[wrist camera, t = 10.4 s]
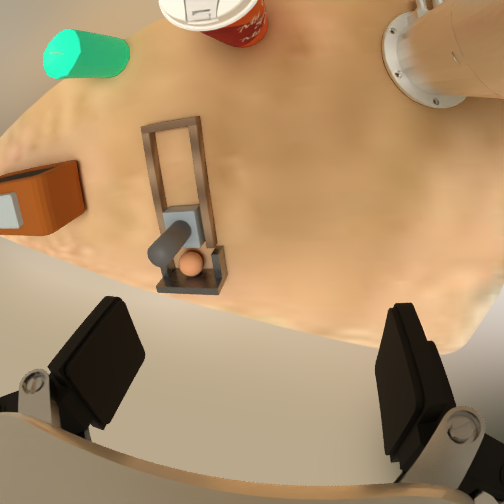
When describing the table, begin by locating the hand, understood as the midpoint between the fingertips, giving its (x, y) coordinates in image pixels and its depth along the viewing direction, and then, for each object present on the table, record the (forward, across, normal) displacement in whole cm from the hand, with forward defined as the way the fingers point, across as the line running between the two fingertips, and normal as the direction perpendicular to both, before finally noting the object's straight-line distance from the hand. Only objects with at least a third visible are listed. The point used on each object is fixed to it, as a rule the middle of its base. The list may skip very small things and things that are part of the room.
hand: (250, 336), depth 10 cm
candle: (+28, +22, -18) cm, 40 cm away
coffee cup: (+28, +4, -18) cm, 34 cm away
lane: (+28, +14, +2) cm, 32 cm away
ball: (+27, +14, +12) cm, 33 cm away
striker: (+28, +14, +7) cm, 32 cm away
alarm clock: (+29, +42, -1) cm, 51 cm away
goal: (+28, +14, +13) cm, 34 cm away
